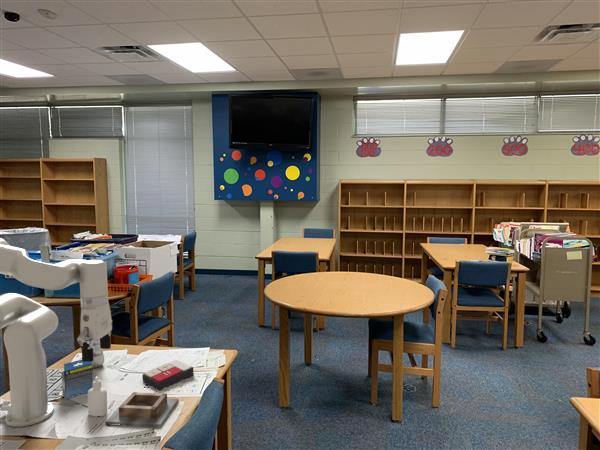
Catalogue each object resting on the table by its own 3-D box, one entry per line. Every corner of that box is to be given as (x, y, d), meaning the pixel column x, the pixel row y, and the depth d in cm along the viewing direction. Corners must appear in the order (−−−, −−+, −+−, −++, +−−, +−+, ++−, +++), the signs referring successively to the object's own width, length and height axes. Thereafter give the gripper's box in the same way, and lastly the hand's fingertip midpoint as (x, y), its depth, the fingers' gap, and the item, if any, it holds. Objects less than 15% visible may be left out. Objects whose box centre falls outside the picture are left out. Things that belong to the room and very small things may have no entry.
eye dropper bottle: (100, 407, 133) (99, 372, 132) (108, 414, 129) (107, 377, 128) (86, 413, 129) (85, 376, 128) (94, 420, 126) (93, 382, 125)
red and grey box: (141, 372, 151) (176, 357, 162) (142, 383, 151) (177, 368, 163) (158, 381, 144) (193, 365, 156) (159, 393, 144) (194, 376, 156)
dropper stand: (105, 424, 123) (104, 411, 123) (129, 399, 138) (128, 387, 138) (160, 427, 122) (160, 414, 122) (178, 401, 137) (178, 390, 137)
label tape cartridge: (90, 387, 146) (89, 353, 145) (93, 391, 143) (92, 357, 142) (62, 395, 140) (60, 360, 139) (65, 399, 137) (63, 364, 136)
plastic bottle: (107, 362, 167) (106, 314, 165) (99, 370, 160) (98, 320, 158) (91, 362, 166) (89, 314, 165) (83, 370, 160) (81, 319, 158)
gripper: (90, 309, 117) (92, 366, 119) (120, 293, 134) (122, 344, 136) (65, 308, 118) (67, 366, 119) (98, 293, 135) (100, 343, 136)
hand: (97, 354), depth 127 cm, fingers open, 9 cm apart
